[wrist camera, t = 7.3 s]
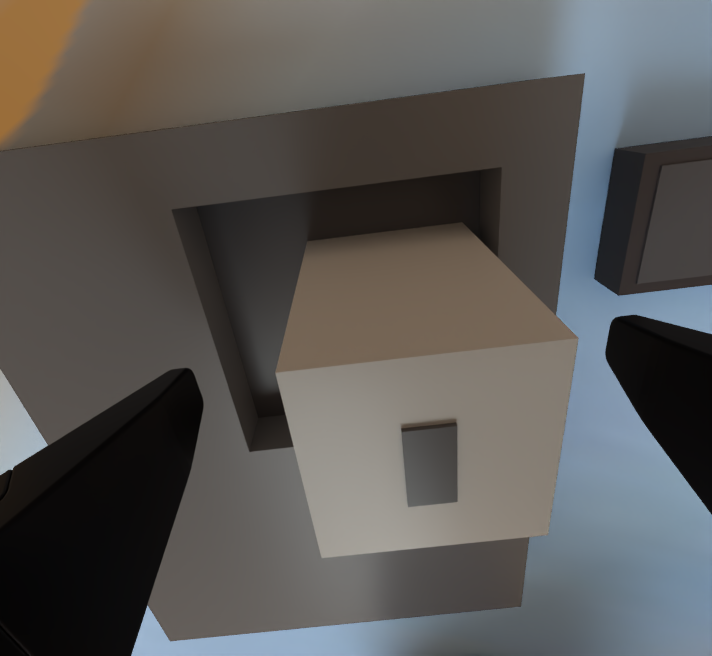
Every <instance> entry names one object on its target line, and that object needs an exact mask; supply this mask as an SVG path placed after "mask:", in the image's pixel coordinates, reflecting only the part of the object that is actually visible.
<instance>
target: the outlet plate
mask: <svg viewBox="0 0 712 656" xmlns="http://www.w3.org/2000/svg"><path fill="white" fill-rule="evenodd" d="M584 77H585V73H584V74H576V75H567V76H558V77H550V78H541V79H534V80H526V81H519V82H511V83H504V84H496V85H489V86H481V87H474V88H467V89H459V90H452V91H444V92H437V93H429V94H422V95H414V96H407V97H399V98H392V99H384V100H377V101H370V102H362V103H355V104H347V105H340V106H332V107H325V108H317V109H310V110H302V111H295V112H288V113H280V114H273V115H265V116H258V117H250V118H243V119H235V120H228V121H220V122H213V123H205V124H198V125H191V126H183V127H176V128H168V129H161V130H153V131H146V132H138V133H131V134H123V135H116V136H109V137H101V138H94V139H86V140H79V141H71V142H64V143H56V144H49V145H41V146H34V147H26V148H19V149H12V150H4V151H0V369H1V370H2V372H3V374H4V375H5V377H6V378H7V380H8V382H9V383H10V385H11V386H12V388H13V390H14V391H15V393H16V395H17V396H18V398H19V399H20V401H21V403H22V404H23V406H24V407H25V409H26V411H27V412H28V414H29V415H30V417H31V419H32V420H33V422H34V423H35V425H36V427H37V428H38V430H39V431H40V433H41V435H42V436H43V438H44V439H45V441H46V443H47V444H48V445H50V444H52V443H53V442H55V441H56V440H58V439H60V438H61V437H63V436H64V435H66V434H68V433H69V432H71V431H72V430H74V429H76V428H77V427H79V426H80V425H82V424H84V423H85V422H87V421H89V420H90V419H92V418H93V417H95V416H97V415H98V414H100V413H101V412H103V411H105V410H106V409H108V408H109V407H111V406H113V405H114V404H116V403H117V402H119V401H121V400H122V399H124V398H126V397H127V396H129V395H130V394H132V393H134V392H135V391H137V390H138V389H140V388H142V387H143V386H145V385H146V384H148V383H150V382H151V381H153V380H154V379H156V378H158V377H159V376H161V375H162V374H164V373H166V372H167V371H169V370H172V369H179V368H190V369H191V370H192V371H193V373H194V375H195V378H196V381H197V383H198V386H199V389H200V392H201V394H202V397H203V402H204V408H203V414H202V419H201V424H200V429H199V434H198V439H197V444H196V449H195V454H194V459H193V463H192V468H191V472H190V475H189V478H188V482H187V485H186V488H185V491H184V494H183V497H182V500H181V503H180V506H179V509H178V512H177V515H176V519H175V522H174V525H173V528H172V531H171V534H170V537H169V540H168V543H167V546H166V549H165V552H164V556H163V559H162V562H161V565H160V568H159V571H158V574H157V577H156V580H155V583H154V586H153V589H152V593H151V596H150V599H149V602H148V606H149V608H150V610H151V611H152V613H153V614H154V616H155V618H156V619H157V621H158V622H159V624H160V626H161V627H162V629H163V630H164V632H165V634H166V635H167V637H168V639H169V640H170V641H177V640H187V639H197V638H207V637H218V636H228V635H238V634H248V633H258V632H268V631H278V630H288V629H299V628H309V627H319V626H329V625H339V624H349V623H359V622H369V621H379V620H390V619H400V618H410V617H420V616H430V615H440V614H450V613H460V612H471V611H481V610H491V609H501V608H511V607H521V602H522V593H523V585H524V577H525V568H526V560H527V552H528V543H529V537H524V538H515V539H505V540H495V541H485V542H475V543H466V544H456V545H446V546H436V547H426V548H417V549H407V550H397V551H387V552H377V553H368V554H358V555H348V556H338V557H328V558H321V554H320V550H319V546H318V542H317V538H316V534H315V530H314V526H313V522H312V518H311V514H310V510H309V506H308V502H307V498H306V494H305V490H304V486H303V482H302V478H301V474H300V470H299V466H298V462H297V458H296V454H295V450H294V446H293V442H292V438H291V434H290V430H289V426H288V422H287V418H286V414H285V410H284V406H283V402H282V398H281V394H280V390H279V386H278V382H277V378H276V374H275V372H276V368H277V364H278V360H279V355H280V351H281V347H282V343H283V339H284V335H285V331H286V327H287V323H288V318H289V314H290V310H291V306H292V302H293V298H294V294H295V290H296V285H297V281H298V277H299V273H300V269H301V265H302V261H303V257H304V253H305V248H306V244H307V241H313V240H322V239H330V238H338V237H346V236H354V235H362V234H370V233H379V232H387V231H395V230H403V229H411V228H419V227H427V226H436V225H444V224H452V223H460V222H462V223H463V224H464V225H465V226H466V227H467V228H468V229H469V230H470V231H471V232H472V233H473V234H474V235H475V236H476V237H478V238H479V239H480V240H481V241H482V242H483V243H484V244H485V245H486V246H487V247H488V248H489V249H490V250H491V251H492V252H493V253H494V254H495V255H496V256H497V257H498V258H499V259H500V260H501V261H502V262H503V263H504V264H505V265H506V266H507V267H508V268H509V269H510V270H511V271H512V272H513V273H514V274H515V275H516V276H517V277H518V278H519V279H520V280H521V281H522V282H523V283H524V284H525V285H526V286H527V287H528V288H529V289H530V290H531V291H532V292H533V293H534V294H535V295H536V296H537V297H538V298H539V299H540V300H541V301H542V302H543V303H544V304H545V305H546V306H547V307H548V308H549V309H550V310H551V311H552V312H553V313H554V314H555V315H556V310H557V302H558V294H559V285H560V277H561V269H562V260H563V252H564V244H565V235H566V227H567V219H568V211H569V202H570V194H571V186H572V177H573V169H574V161H575V152H576V144H577V136H578V127H579V119H580V111H581V102H582V94H583V86H584Z"/></svg>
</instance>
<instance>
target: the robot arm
mask: <svg viewBox="0 0 712 656" xmlns="http://www.w3.org/2000/svg"><path fill="white" fill-rule="evenodd" d="M605 353H606V359H607V362H608V364H609V366H610V367H611V369H612V371H613V373H614V374H615V376H616V378H617V379H618V381H619V383H620V385H621V386H622V388H623V390H624V391H625V393H626V395H627V396H628V398H629V400H630V402H631V403H632V405H633V407H634V408H635V410H636V412H637V413H638V415H639V416H640V418H641V420H642V421H643V422H644V424H645V425H646V427H647V428H648V430H649V431H650V432H651V434H652V435H653V436H654V438H655V439H656V440H657V442H658V443H659V444H660V446H661V447H662V448H663V450H664V451H665V452H666V454H667V455H668V456H669V458H670V459H671V461H672V462H673V463H674V465H675V466H676V467H677V469H678V470H679V471H680V473H681V474H682V475H683V477H684V478H685V479H686V481H687V482H688V483H689V485H690V486H691V487H692V489H693V490H694V491H695V493H696V494H697V495H698V497H699V498H700V499H701V501H702V502H703V503H704V505H705V506H706V508H707V509H708V510H709V512H710V513H711V514H712V334H708V333H704V332H700V331H697V330H693V329H689V328H685V327H681V326H677V325H673V324H669V323H666V322H662V321H658V320H654V319H650V318H646V317H642V316H638V315H628V316H620V317H616V318H614V319H613V320H612V322H611V325H610V330H609V335H608V340H607V345H606V352H605ZM203 408H204V402H203V397H202V394H201V392H200V389H199V386H198V383H197V381H196V378H195V375H194V373H193V371H192V370H191V369H190V368H179V369H172V370H169V371H167V372H166V373H164V374H162V375H161V376H159V377H158V378H156V379H154V380H153V381H151V382H150V383H148V384H146V385H145V386H143V387H142V388H140V389H138V390H137V391H135V392H134V393H132V394H130V395H129V396H127V397H126V398H124V399H122V400H121V401H119V402H117V403H116V404H114V405H113V406H111V407H109V408H108V409H106V410H105V411H103V412H101V413H100V414H98V415H97V416H95V417H93V418H92V419H90V420H89V421H87V422H85V423H84V424H82V425H80V426H79V427H77V428H76V429H74V430H72V431H71V432H69V433H68V434H66V435H64V436H63V437H61V438H60V439H58V440H56V441H55V442H53V443H52V444H50V445H48V446H47V447H45V448H44V449H42V450H40V451H39V452H37V453H35V454H34V455H32V456H31V457H29V458H27V459H26V460H24V461H23V462H21V463H19V464H18V465H16V466H15V467H14V468H13V470H8V471H6V472H5V473H3V474H2V475H0V656H131V654H132V651H133V648H134V645H135V642H136V639H137V636H138V633H139V630H140V627H141V623H142V620H143V617H144V614H145V611H146V608H147V605H148V602H149V599H150V596H151V593H152V589H153V586H154V583H155V580H156V577H157V574H158V571H159V568H160V565H161V562H162V559H163V556H164V552H165V549H166V546H167V543H168V540H169V537H170V534H171V531H172V528H173V525H174V522H175V519H176V515H177V512H178V509H179V506H180V503H181V500H182V497H183V494H184V491H185V488H186V485H187V482H188V478H189V475H190V472H191V468H192V463H193V459H194V454H195V449H196V444H197V439H198V434H199V429H200V424H201V419H202V414H203Z"/></svg>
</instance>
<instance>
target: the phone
mask: <svg viewBox="0 0 712 656" xmlns="http://www.w3.org/2000/svg"><path fill="white" fill-rule="evenodd" d="M594 279H595V280H597V281H598V282H600V283H601V284H602V285H604V286H605V287H607V288H608V289H610V290H611V291H612V292H614V293H615V294H617V295H618V296H619V295H628V294H636V293H645V292H653V291H661V290H670V289H678V288H687V287H695V286H703V285H712V136H709V137H701V138H693V139H686V140H678V141H670V142H662V143H655V144H647V145H639V146H631V147H624V148H616V149H615V153H614V159H613V165H612V172H611V178H610V184H609V190H608V196H607V203H606V209H605V215H604V221H603V227H602V234H601V240H600V246H599V252H598V258H597V265H596V271H595V277H594Z"/></svg>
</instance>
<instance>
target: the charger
mask: <svg viewBox="0 0 712 656" xmlns="http://www.w3.org/2000/svg"><path fill="white" fill-rule="evenodd" d="M577 345H578V337H577V336H576V335H575V334H574V333H573V332H572V331H571V330H570V329H569V328H568V327H567V326H566V325H565V324H564V323H563V322H562V321H561V320H560V319H559V318H558V317H557V316H556V315H555V314H554V313H553V312H552V311H551V310H550V309H549V308H548V307H547V306H546V305H545V304H544V303H543V302H542V301H541V300H540V299H539V298H538V297H537V296H536V295H535V294H534V293H533V292H532V291H531V290H530V289H529V288H528V287H527V286H526V285H525V284H524V283H523V282H522V281H521V280H520V279H519V278H518V277H517V276H516V275H515V274H514V273H513V272H512V271H511V270H510V269H509V268H508V267H507V266H506V265H505V264H504V263H503V262H502V261H501V260H500V259H499V258H498V257H497V256H496V255H495V254H494V253H493V252H492V251H491V250H490V249H489V248H488V247H487V246H486V245H485V244H484V243H483V242H482V241H481V240H480V239H479V238H478V237H476V236H475V235H474V234H473V233H472V232H471V231H470V230H469V229H468V228H467V227H466V226H465V225H464V224H463V223H462V222H460V223H452V224H444V225H436V226H427V227H419V228H411V229H403V230H395V231H387V232H379V233H370V234H362V235H354V236H346V237H338V238H330V239H322V240H313V241H307V244H306V248H305V253H304V257H303V261H302V265H301V269H300V273H299V277H298V281H297V285H296V290H295V294H294V298H293V302H292V306H291V310H290V314H289V318H288V323H287V327H286V331H285V335H284V339H283V343H282V347H281V351H280V355H279V360H278V364H277V368H276V372H275V374H276V378H277V382H278V386H279V390H280V394H281V398H282V402H283V406H284V410H285V414H286V418H287V422H288V426H289V430H290V434H291V438H292V442H293V446H294V450H295V454H296V458H297V462H298V466H299V470H300V474H301V478H302V482H303V486H304V490H305V494H306V498H307V502H308V506H309V510H310V514H311V518H312V522H313V526H314V530H315V534H316V538H317V542H318V546H319V550H320V554H321V558H328V557H338V556H348V555H358V554H368V553H377V552H387V551H397V550H407V549H417V548H426V547H436V546H446V545H456V544H466V543H475V542H485V541H495V540H505V539H515V538H524V537H534V536H544V535H548V531H549V524H550V518H551V512H552V505H553V499H554V492H555V486H556V479H557V473H558V467H559V460H560V454H561V447H562V441H563V435H564V428H565V422H566V415H567V409H568V402H569V396H570V390H571V383H572V377H573V370H574V364H575V357H576V351H577Z"/></svg>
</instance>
